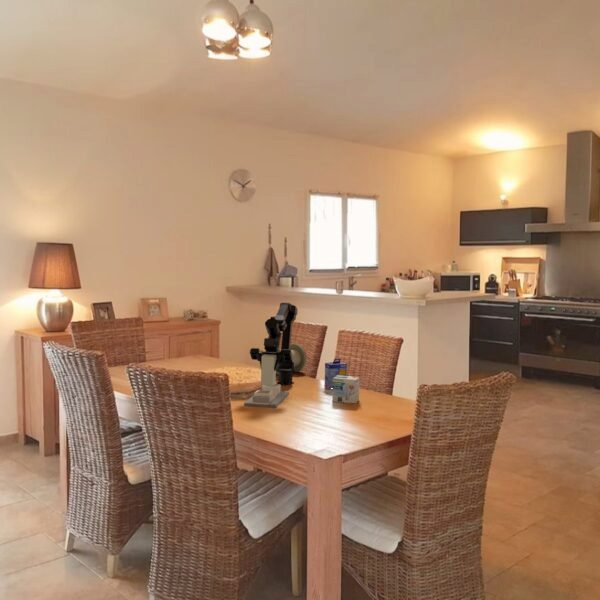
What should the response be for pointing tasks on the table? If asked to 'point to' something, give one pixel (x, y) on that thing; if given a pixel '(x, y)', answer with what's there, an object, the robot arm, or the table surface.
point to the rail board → (273, 404)
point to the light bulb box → (345, 389)
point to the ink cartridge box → (334, 371)
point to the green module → (268, 370)
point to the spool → (297, 357)
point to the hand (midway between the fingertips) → (267, 370)
